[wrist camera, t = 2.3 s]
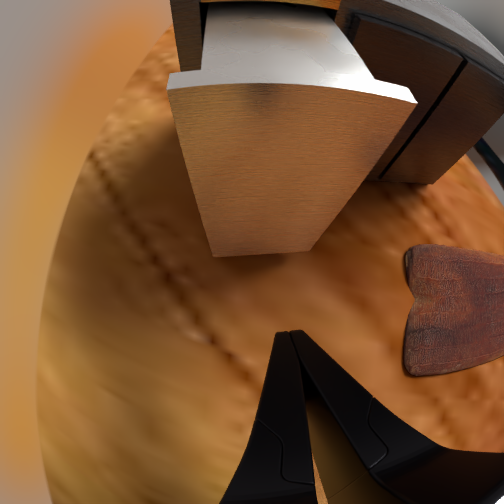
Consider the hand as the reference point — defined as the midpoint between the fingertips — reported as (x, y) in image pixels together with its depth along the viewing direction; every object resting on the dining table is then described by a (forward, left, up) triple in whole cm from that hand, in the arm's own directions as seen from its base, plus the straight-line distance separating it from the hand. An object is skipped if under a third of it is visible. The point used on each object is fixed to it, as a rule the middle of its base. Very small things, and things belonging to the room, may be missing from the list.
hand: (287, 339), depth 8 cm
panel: (+9, 0, -6) cm, 11 cm away
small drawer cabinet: (+14, -6, -8) cm, 17 cm away
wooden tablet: (-2, -23, -8) cm, 25 cm away
